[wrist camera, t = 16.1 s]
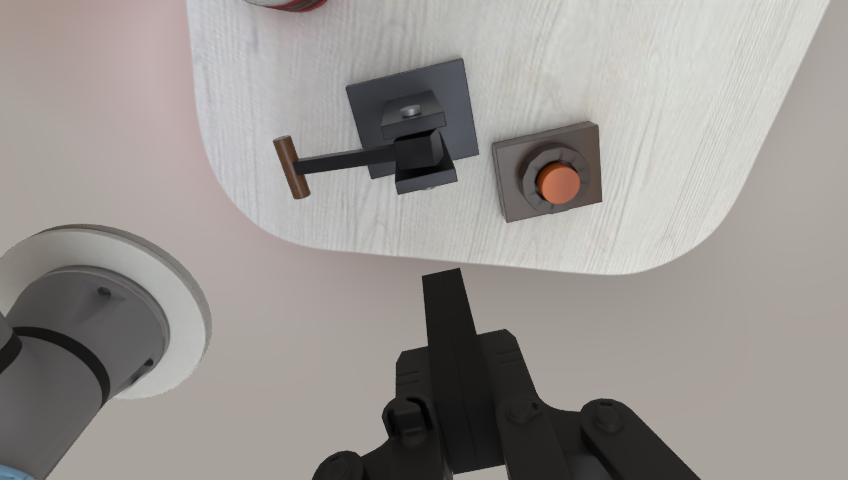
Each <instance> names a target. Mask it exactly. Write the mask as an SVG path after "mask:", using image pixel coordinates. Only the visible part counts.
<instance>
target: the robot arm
mask: <svg viewBox="0 0 848 480" xmlns="http://www.w3.org/2000/svg"><path fill="white" fill-rule="evenodd" d="M422 282H423V293H424V303H425V314H426V327H427V338H428V346H426V347H421V348H417V349H413V350H407V351H402V353H401V355H400V357H399V359H398V361H397V362H396V397H395V398H394V399H393V400H391V401H390V402H389V403H388V404H387V405H386V407H385V408H384V411H383V414H382V420H383V422H384V425H385V428H386V431H387V434H388V436H389V438H388V440H387V441H386V442H385V443H384V444H383V445H382V446H380V447H378V448H377V449H375V450H373V451H372V452H370V453H368V454H366V455H364V456H362V457H360V456H359V455H358V454H357V453H355V452H352V451H341V452H337V453H335V454H333V455H331V456H329V457H328V458H326V459H325V460H324V461H323V462H322V463H321V464H320V465H319V467H318V469H317V470H316V472H315V474H314V476H313V478H312V480H453V475H454V474H459V473H464V472H470V471H475V470H480V469H485V468H490V467H495V466H500V465H506V470H507V475H508V479H509V480H701V479H700V478H699V477H698V476H696V474H695V473H694V472H693V471H692V470H691V469H690V468H689V467H688V466H687V465H686V464H685V463H684V462H683V461H682V460H681V459H680V458H679V457H678V456H677V455H676V454H675V453H674V452H673V451H672V450H671V449H670V448H669V447H668V446H667V445H666V444H665V443H664V442H663V441H662V440H661V439H660V438H659V437H658V436H657V435H656V434H655V433H654V432H653V431H652V430H651V429H650V428H649V427H648V426H647V425H646V424H645V423H644V422H643V421H642V420H641V419H640V418H639V417H638V416H637V415H636V414H635V413H634V412H633V411H632V410H631V409H630V408H629V407H627V406H626V405H625V404H623V403H621V402H618V401H615V400H613V399H602V398H601V399H596V400H593V401H590V402H588V403H587V404H585V405H584V406H583V408H582V409H581V411H580V412H575V411H565V410H559V409H555V408H553V407H550V406H549V405H547V404H546V403H544V402H543V401H542V400H541V399H540V398H539V396H538V394H537V393H536V390H535V387H534V385H533V382H532V380H531V377H530V374H529V372H528V369H527V366H526V364H525V361H524V359H523V356H522V353H521V351H520V348H519V345H518V343H517V340H516V337H514V336H513V335H512V334H511V333H510V332H509V331H508V330H506V329H503V330H498V331H493V332H488V333H484V334H479V335H477V334H476V330H475V326H474V322H473V318H472V314H471V310H470V306H469V302H468V298H467V294H466V290H465V287H464V283H463V279H462V275H461V271H460V268H456V269H453V270H447V271H442V272H438V273H434V274H429V275H425V276H422ZM169 343H170V326H169V322H168V319H167V317H166V314H165V312H164V310H163V309H162V307H161V306H160V304H159V303H158V302H157V300H156V299H155V298H154V297H153V296H152V295H151V294H150V293H149V292H148V291H147V290H146V289H145V288H143V287H142V286H141V285H139V284H138V283H137V282H135V281H133V280H132V279H130V278H128V277H126V276H124V275H122V274H120V273H117V272H115V271H112V270H109V269H106V268H102V267H97V266H90V265H70V266H64V267H60V268H56V269H54V270H51V271H49V272H47V273H45V274H44V275H42V276H41V277H39V278H38V279H36V280H35V281H33V282H32V283H31V284H29V285H28V286H27V287H26V288H25V289H24V291H23V292H22V293H21V294H20V295H19V296H18V298H17V300H16V301H15V303H14V305H13V306H12V307H11V309H10V310H9V312H8V314H7V315H6V317H4V316H3V314H2V313H1V311H0V480H45V479H46V478H47V477H48V476H49V474H50V473H51V472H52V470H53V469H54V468H55V467H56V465H57V464H58V463H59V461H60V460H61V459H62V458H63V456H64V455H65V454H66V453H67V451H68V450H69V449H70V447H71V446H72V445H73V443H74V442H75V441H76V440H77V438H78V437H79V436H80V434H81V433H82V432H83V431H84V429H85V428H86V427H87V425H88V424H89V423H90V422H91V420H92V419H93V418H94V417H95V415H96V414H97V413H98V411H99V410H100V409H101V408H102V407H103V405H104V404H105V403H106V402H107V401H108V400H110V399H111V398H113V397H114V396H116V395H117V394H119V393H121V392H122V391H124V390H125V389H127V388H128V387H129V388H128V389H127V390H126V391H128V390H129V389H131V388H132V387H133V386H134V385H135V384H136V383H137V382H138V381H140V380H141V379H142V378H144V377H145V376H146V375H147V374H148V373H150V372H151V371H152V370H153V369H154V368H155V367H156V366H157V364H158V363H159V362H160V360H161V359H162V358H163V356H164V355H165V353H166V351H167V349H168V347H169ZM126 391H124V392H126ZM124 392H123V393H124ZM123 393H122V394H123ZM452 471H453V474H452Z"/></svg>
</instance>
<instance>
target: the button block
mask: <svg viewBox="0 0 848 480" xmlns="http://www.w3.org/2000/svg"><path fill="white" fill-rule="evenodd" d="M492 151H493V157H494V164H495V170H496V177H497V183H498V189H499V196H500V202H501V209H502V215H503V217H504V219H505V220H506V222H507V223H509V222H513V221H518V220H522V219H527V218H531V217H536V216H540V215H545V214H554V213H558V212H563V211H567V210H569V209H572V208H577V207H581V206H586V205H590V204H595V203H599V202H602V187H601V167H600V147H599V127H598V125H597V124H594V123H592V122H590V121H589V122H584V123H580V124H575V125H571V126H567V127H562V128H558V129H554V130H549V131H545V132H541V133H536V134H532V135H528V136H523V137H519V138H515V139H510V140H506V141H502V142H497V143H493V144H492ZM552 163H564V164H566V165H568V166H569V167H570V168H572V169H573V170H574V171H575V172H576V173H577V174H578V176H579V179H580V187H579V190H578V192H577V194H576V195H575V197H574V198H573V199H571V200H570V201H568V202H566V203H563V204H554V203H551V202H549V201H548V200H546V199H545V198H544V196H543V195H542V194H541V193H540V192H539V190H538V187H537V179H538V176H539V174H540V172H541V171H542V170H543V169H544V168H545V167H546V166H548V165H550V164H552Z"/></svg>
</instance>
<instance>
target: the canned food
mask: <svg viewBox="0 0 848 480" xmlns="http://www.w3.org/2000/svg"><path fill="white" fill-rule="evenodd" d="M243 1H246V2H248V3H250V4H254V5H258V6H263V7H267V8H273V9H278V10H284V11H290V12H306V11H311V10H313V9H316V8H318V7H320V6H321V5H322V4H324V3H325V2H326V1H327V0H243Z"/></svg>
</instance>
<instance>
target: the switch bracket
mask: <svg viewBox="0 0 848 480" xmlns="http://www.w3.org/2000/svg"><path fill="white" fill-rule="evenodd" d="M346 91H347V94H348V98H349V101H350V105H351V108H352V112H353V115H354V119H355V122H356V126H357V130H358V133H359V137H360V140H361V144H362V147H363V149H364V148H370V147H377V146H383V145H389V144H394V143H393V141H394V140H396V139H397V138H398V137H402V136H406V135H411V134H415V133H419V132H424V131H428V130H432V129H436V128H438V129H439V134H440V139H441V144H442V149H443V154H444V156H443V157H442V159H441V160H440V161H439V163H438V164H437V165H436V166H431V167H423V168H416V169H409V170H400V167H399V163H398V161H394V162H387V163H380V164H373V165H368V168H369V172H370V175H371V179H375V178H379V177H383V176H388V175H392V174H395V185H396V189H397V193H398V195H400V194H404V193H408V192H413V191H417V190H429V189H432V188H434V187H436V186H439V185H444V184H448V183H453V182H457V181H458V180H457V175H456V170H455V167H454V164H453V162H452V161H453V160H458V159H462V158H466V157H471V156H475V155H479V150H478V144H477V138H476V133H475V127H474V121H473V115H472V109H471V103H470V97H469V91H468V85H467V79H466V74H465V68H464V62H463V59H461V58H460V59H456V60H452V61H448V62H444V63H440V64H435V65H431V66H427V67H423V68H419V69H415V70H410V71H406V72H402V73H398V74H394V75H390V76H386V77H381V78H377V79H373V80H369V81H365V82H361V83H356V84H352V85H348V86H346Z"/></svg>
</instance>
